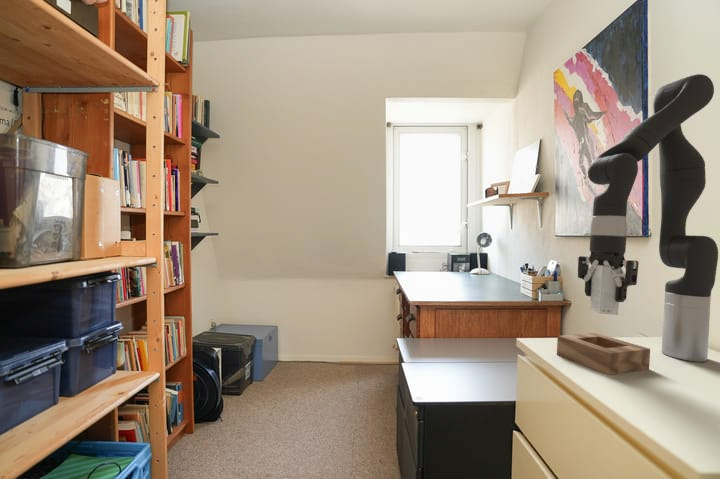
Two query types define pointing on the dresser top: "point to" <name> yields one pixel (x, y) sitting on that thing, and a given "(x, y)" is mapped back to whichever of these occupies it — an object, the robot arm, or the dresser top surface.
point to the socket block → (603, 353)
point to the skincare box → (604, 291)
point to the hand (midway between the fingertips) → (604, 298)
